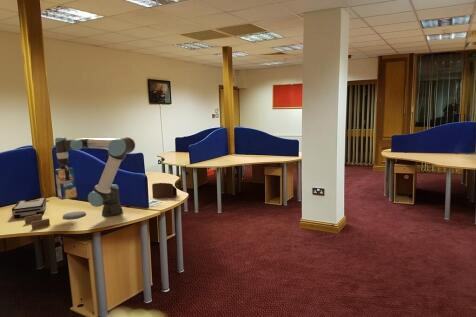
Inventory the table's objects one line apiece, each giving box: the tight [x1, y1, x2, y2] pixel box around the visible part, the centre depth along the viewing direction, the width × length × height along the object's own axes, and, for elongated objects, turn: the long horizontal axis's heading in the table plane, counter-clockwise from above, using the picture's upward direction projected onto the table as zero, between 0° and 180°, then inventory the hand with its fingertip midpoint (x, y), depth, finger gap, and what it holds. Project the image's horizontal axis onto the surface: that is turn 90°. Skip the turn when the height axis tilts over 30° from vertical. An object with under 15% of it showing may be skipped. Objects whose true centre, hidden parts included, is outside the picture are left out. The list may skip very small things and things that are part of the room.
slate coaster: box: [62, 210, 87, 220], centre depth 270 cm, size 16×16×1 cm
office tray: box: [11, 197, 48, 219], centre depth 285 cm, size 21×32×8 cm, turn 25°
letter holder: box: [151, 182, 178, 199], centre depth 320 cm, size 10×20×14 cm, turn 80°
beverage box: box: [54, 166, 78, 201], centre depth 263 cm, size 7×11×22 cm, turn 137°
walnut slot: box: [23, 214, 51, 230], centre depth 251 cm, size 18×11×5 cm, turn 45°
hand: (66, 189), depth 264 cm, fingers closed on beverage box, 2 cm apart
